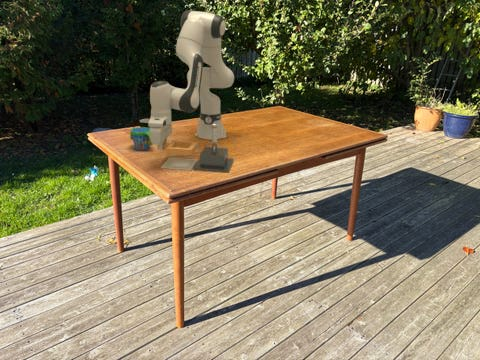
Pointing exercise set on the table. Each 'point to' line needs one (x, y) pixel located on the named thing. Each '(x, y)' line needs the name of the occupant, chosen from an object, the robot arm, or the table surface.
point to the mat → (179, 164)
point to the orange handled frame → (186, 149)
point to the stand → (214, 156)
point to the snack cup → (141, 138)
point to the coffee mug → (143, 123)
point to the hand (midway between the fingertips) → (162, 148)
